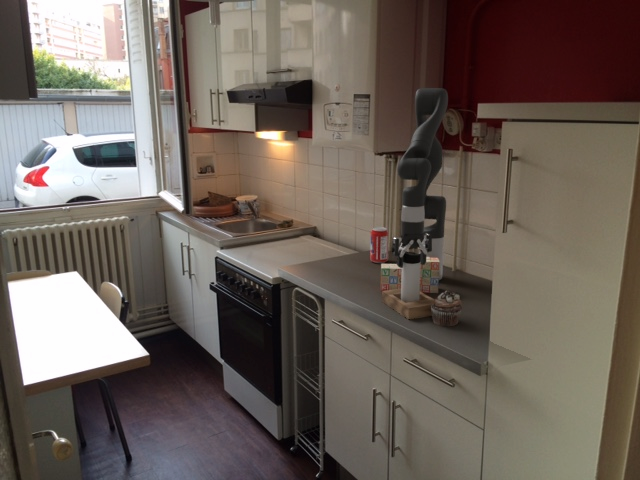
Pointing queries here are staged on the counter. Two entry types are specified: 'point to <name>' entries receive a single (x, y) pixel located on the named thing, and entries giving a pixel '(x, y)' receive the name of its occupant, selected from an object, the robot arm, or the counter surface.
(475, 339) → the counter surface
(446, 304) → the cupcake
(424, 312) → the holder board
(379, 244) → the soda can
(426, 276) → the stack of blocks
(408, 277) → the travel mug
